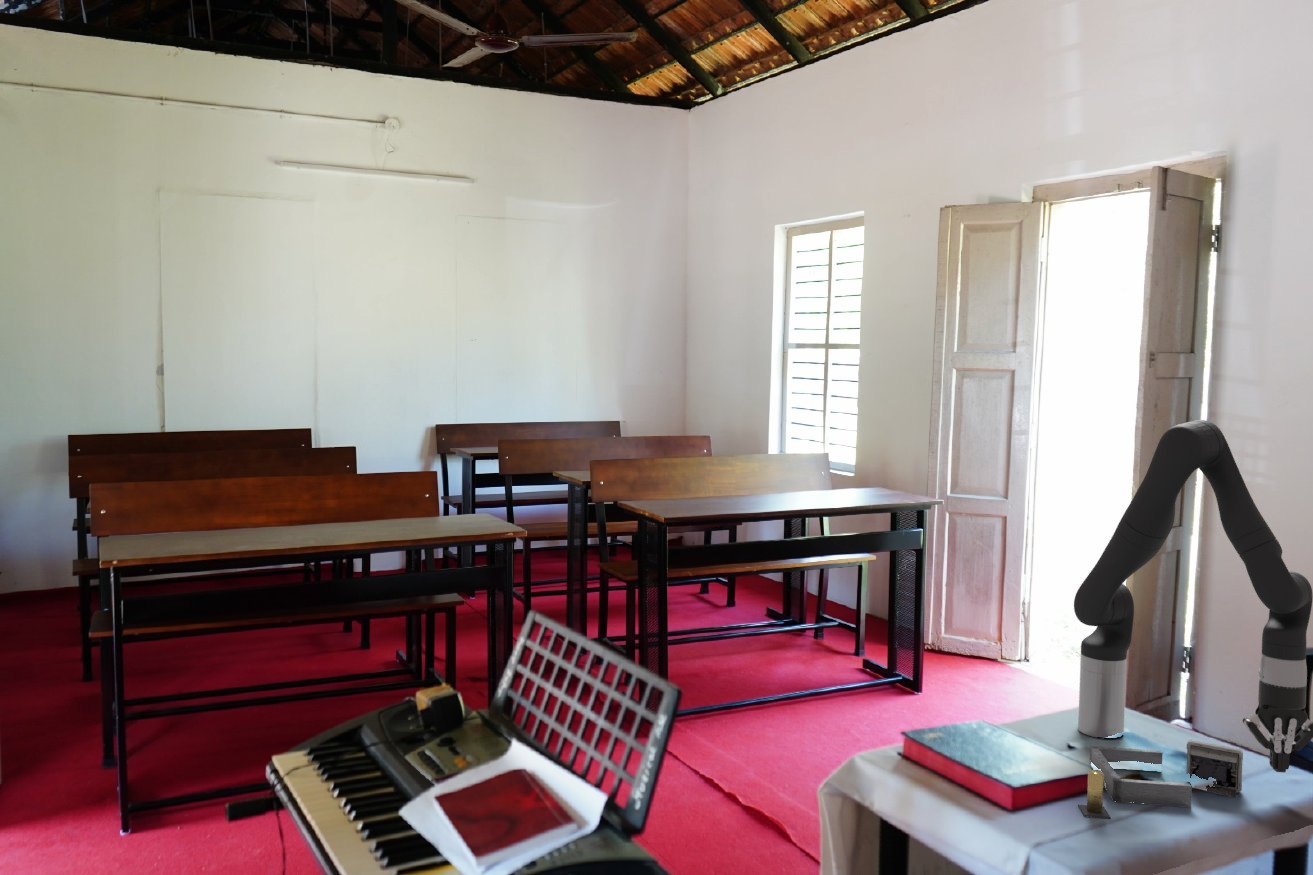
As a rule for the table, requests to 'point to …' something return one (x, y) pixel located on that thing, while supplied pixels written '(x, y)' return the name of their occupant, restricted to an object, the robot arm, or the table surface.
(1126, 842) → the table surface
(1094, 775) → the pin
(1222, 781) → the electrical switch
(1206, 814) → the table surface
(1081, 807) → the pad
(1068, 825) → the table surface
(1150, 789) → the bracket
